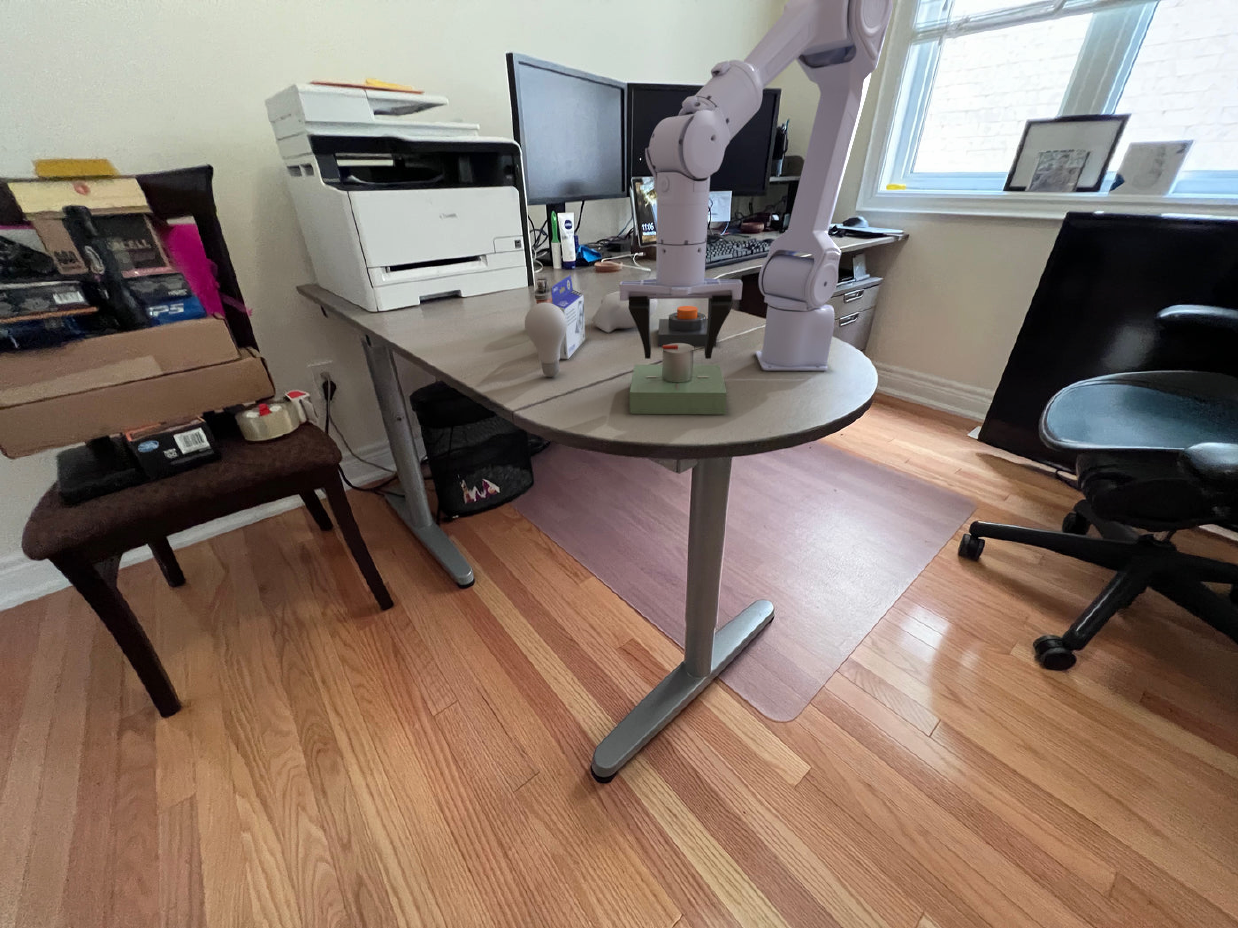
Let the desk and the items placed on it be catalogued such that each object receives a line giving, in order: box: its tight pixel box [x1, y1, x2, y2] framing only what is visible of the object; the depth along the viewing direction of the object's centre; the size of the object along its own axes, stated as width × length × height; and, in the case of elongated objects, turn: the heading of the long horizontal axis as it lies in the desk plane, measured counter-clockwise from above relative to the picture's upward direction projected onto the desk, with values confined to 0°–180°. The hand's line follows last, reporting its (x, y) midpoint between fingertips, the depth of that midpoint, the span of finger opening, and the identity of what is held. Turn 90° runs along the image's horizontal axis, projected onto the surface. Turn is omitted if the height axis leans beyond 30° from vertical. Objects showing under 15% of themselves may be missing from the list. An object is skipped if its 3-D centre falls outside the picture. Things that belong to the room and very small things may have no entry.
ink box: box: [551, 274, 586, 360], centre depth 83 cm, size 12×2×12 cm, turn 168°
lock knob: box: [661, 343, 695, 383], centre depth 64 cm, size 4×4×4 cm
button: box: [676, 305, 699, 319], centre depth 87 cm, size 4×4×2 cm
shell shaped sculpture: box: [591, 290, 658, 333], centre depth 96 cm, size 13×13×6 cm
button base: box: [657, 311, 718, 348], centre depth 88 cm, size 10×10×4 cm
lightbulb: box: [524, 303, 567, 378], centre depth 72 cm, size 6×6×11 cm
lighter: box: [533, 274, 552, 304], centre depth 94 cm, size 8×3×10 cm, turn 179°
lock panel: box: [629, 364, 728, 416], centre depth 66 cm, size 12×10×3 cm
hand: (677, 356), depth 64 cm, fingers open, 7 cm apart
